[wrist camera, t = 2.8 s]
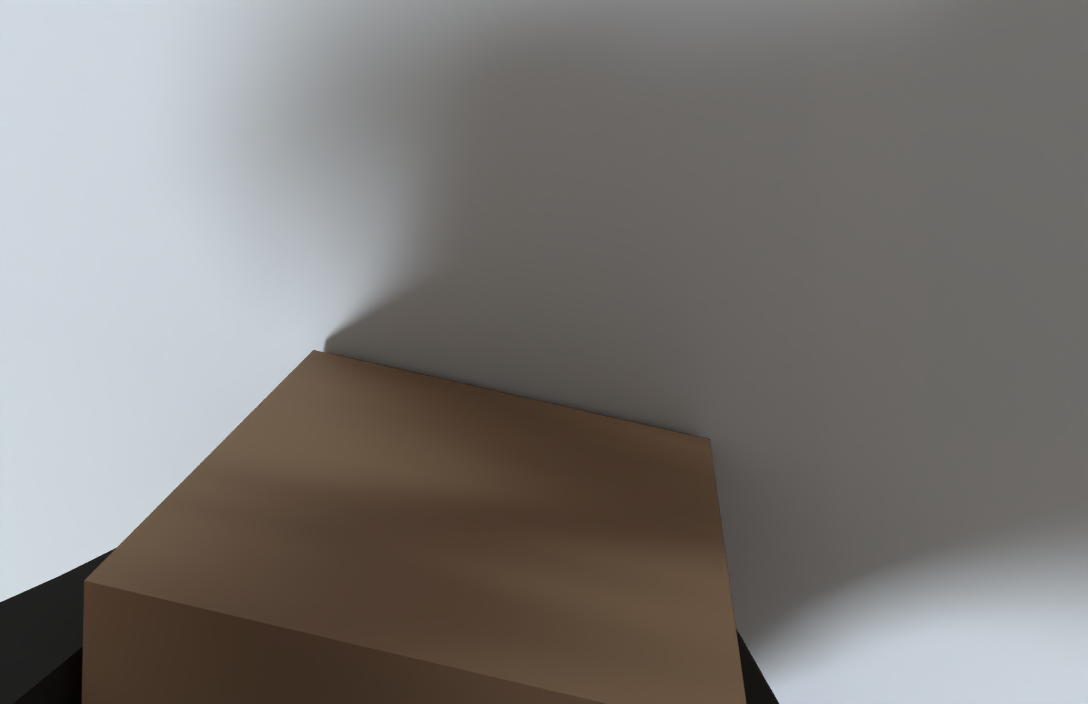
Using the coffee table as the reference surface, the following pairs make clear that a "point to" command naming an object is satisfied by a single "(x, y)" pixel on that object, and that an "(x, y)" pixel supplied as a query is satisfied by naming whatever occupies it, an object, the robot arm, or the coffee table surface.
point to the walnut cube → (422, 558)
